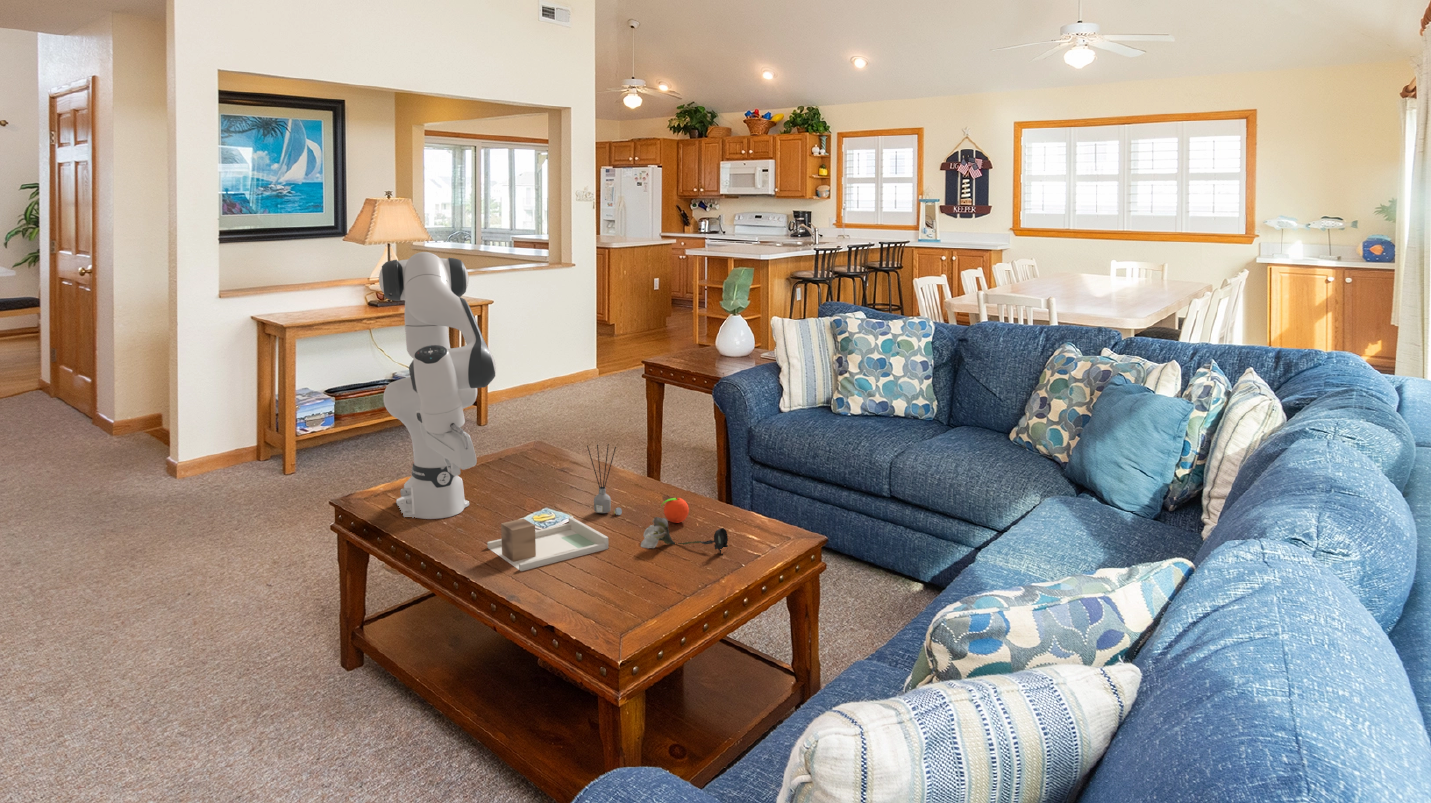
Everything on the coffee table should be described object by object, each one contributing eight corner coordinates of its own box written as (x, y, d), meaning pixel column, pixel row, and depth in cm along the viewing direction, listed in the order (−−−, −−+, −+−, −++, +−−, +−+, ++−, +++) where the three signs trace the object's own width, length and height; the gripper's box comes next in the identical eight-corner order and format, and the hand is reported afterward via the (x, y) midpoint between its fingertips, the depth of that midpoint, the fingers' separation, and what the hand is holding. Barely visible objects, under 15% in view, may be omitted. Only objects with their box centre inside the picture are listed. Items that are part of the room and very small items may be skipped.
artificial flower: (720, 565, 227) (712, 531, 223) (639, 560, 236) (630, 528, 232) (731, 543, 235) (724, 511, 231) (652, 540, 243) (644, 509, 239)
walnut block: (502, 554, 224) (501, 523, 222) (524, 548, 227) (523, 518, 226) (513, 561, 219) (512, 530, 217) (535, 556, 223) (535, 525, 221)
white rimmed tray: (487, 553, 228) (487, 536, 227) (572, 533, 243) (571, 517, 242) (521, 577, 214) (520, 559, 213) (608, 554, 229) (608, 537, 228)
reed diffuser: (584, 514, 257) (583, 446, 253) (592, 506, 264) (591, 439, 259) (619, 517, 255) (619, 448, 251) (626, 509, 262) (626, 442, 257)
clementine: (662, 527, 248) (663, 502, 246) (657, 519, 255) (657, 494, 253) (691, 525, 250) (691, 500, 249) (685, 517, 257) (685, 492, 255)
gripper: (478, 426, 198) (488, 483, 203) (437, 402, 213) (448, 455, 218) (451, 435, 194) (462, 493, 200) (411, 410, 209) (423, 464, 214)
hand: (454, 473), depth 209 cm, fingers closed
